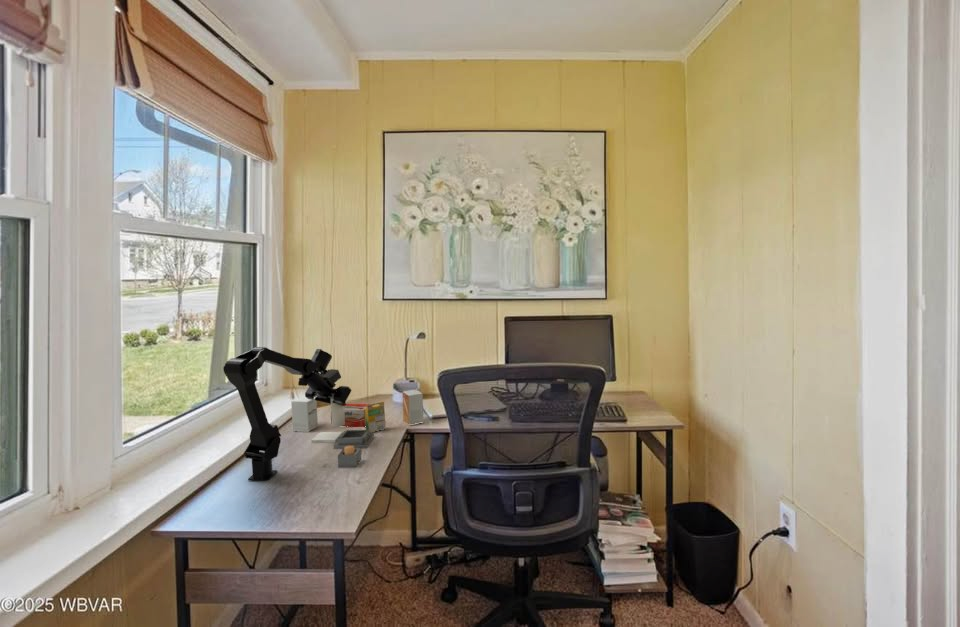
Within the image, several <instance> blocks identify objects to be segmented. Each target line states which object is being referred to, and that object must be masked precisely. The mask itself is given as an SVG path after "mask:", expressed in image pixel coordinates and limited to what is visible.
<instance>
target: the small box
mask: <svg viewBox="0 0 960 627" xmlns="http://www.w3.org/2000/svg"><path fill="white" fill-rule="evenodd" d="M401 393H402V410H403V412H402V415H403V416H402V417H403V422H405V423H406V422H407V423H408V424H415V423H419V422H425V421H424V402H423V401H424V400H423V399H424V396H423V393H422V392H421V391H419V390H417V389H410V390H405V391H402V392H401ZM407 423H406V424H407ZM408 424H407V425H408Z"/></svg>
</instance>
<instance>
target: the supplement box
mask: <svg viewBox="0 0 960 627" xmlns="http://www.w3.org/2000/svg"><path fill="white" fill-rule="evenodd" d="M290 404H291V420H292V432H295V431H297V432H299V433H309V432H311V431H312V430H314V429H316V428H318V426H319V422H318V401H316V400H315V397H314V399H313V400H312V399H308V398H306V397H305V396H300V397H298V398H297V399H295V400H292V401H291V403H290Z"/></svg>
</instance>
